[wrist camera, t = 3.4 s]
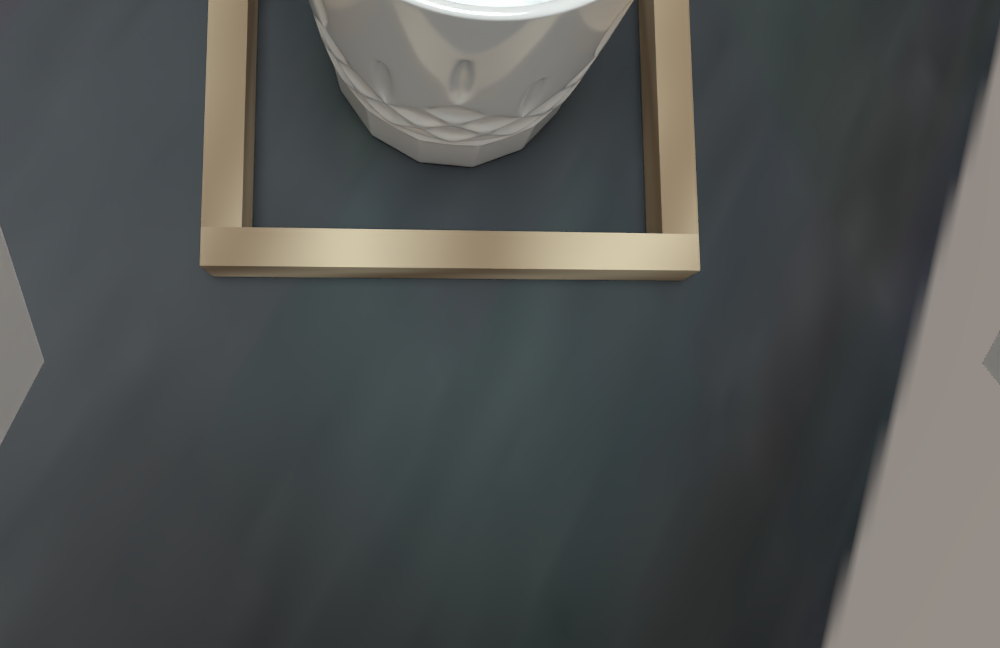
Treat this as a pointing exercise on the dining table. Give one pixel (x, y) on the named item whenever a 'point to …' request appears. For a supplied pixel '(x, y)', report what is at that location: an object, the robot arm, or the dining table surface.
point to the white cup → (462, 68)
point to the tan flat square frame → (450, 252)
